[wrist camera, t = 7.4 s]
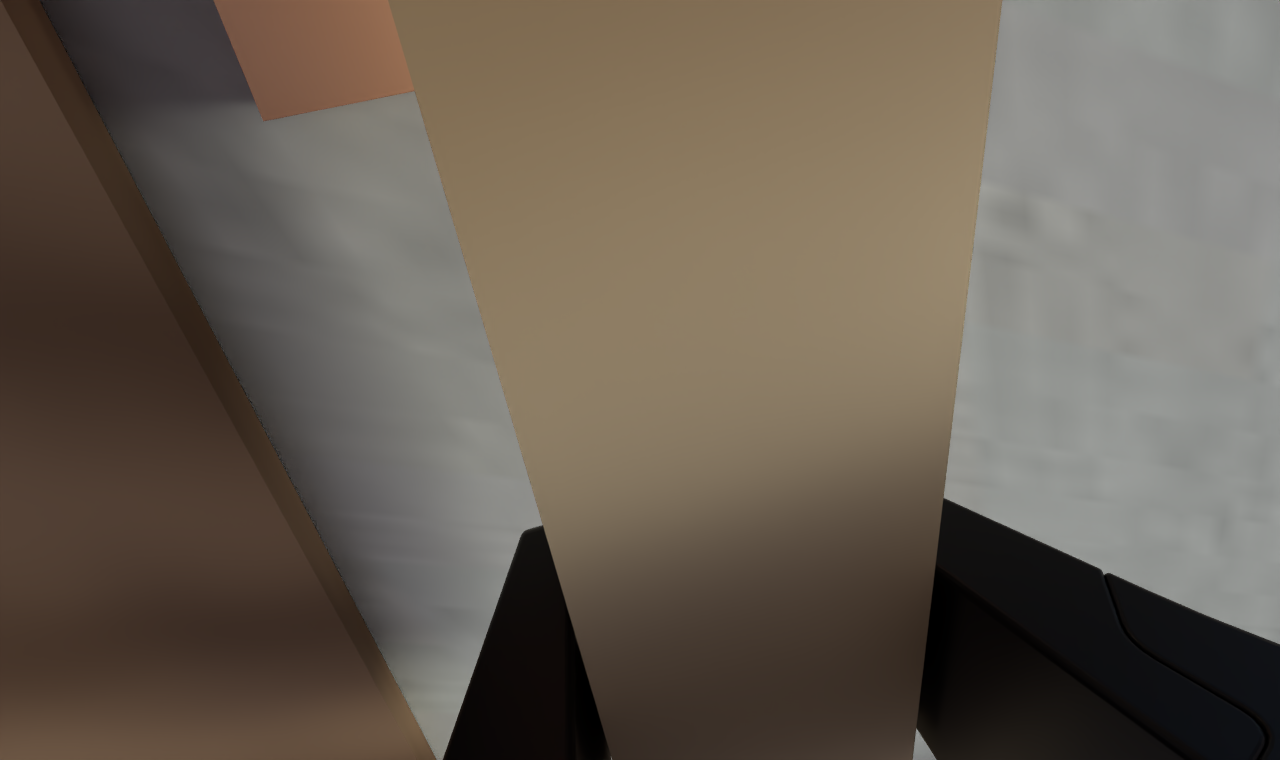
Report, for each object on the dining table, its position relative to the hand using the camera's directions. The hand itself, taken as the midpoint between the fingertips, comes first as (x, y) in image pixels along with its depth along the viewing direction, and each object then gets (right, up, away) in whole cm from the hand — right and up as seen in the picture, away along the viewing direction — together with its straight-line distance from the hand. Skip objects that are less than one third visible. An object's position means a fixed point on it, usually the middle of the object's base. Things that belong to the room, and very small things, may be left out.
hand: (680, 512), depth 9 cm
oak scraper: (0, +1, +1) cm, 1 cm away
